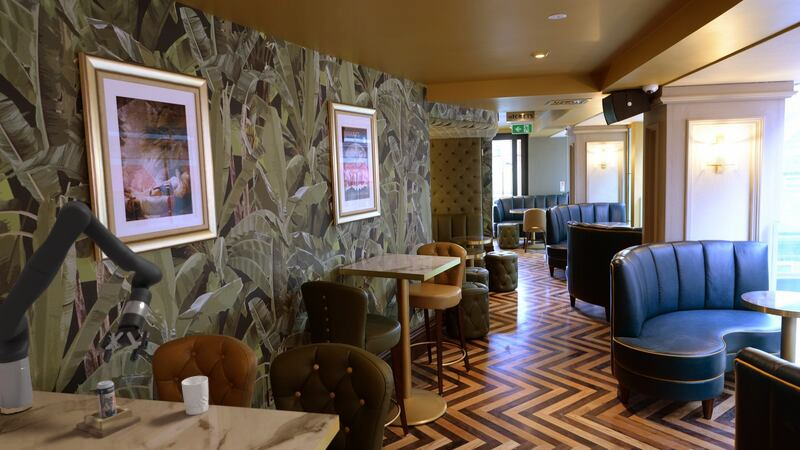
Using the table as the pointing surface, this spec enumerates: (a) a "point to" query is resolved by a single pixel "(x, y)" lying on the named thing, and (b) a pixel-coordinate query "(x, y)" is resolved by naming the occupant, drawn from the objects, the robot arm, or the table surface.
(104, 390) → the beer can
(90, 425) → the caddy
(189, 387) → the white cup
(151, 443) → the table surface
